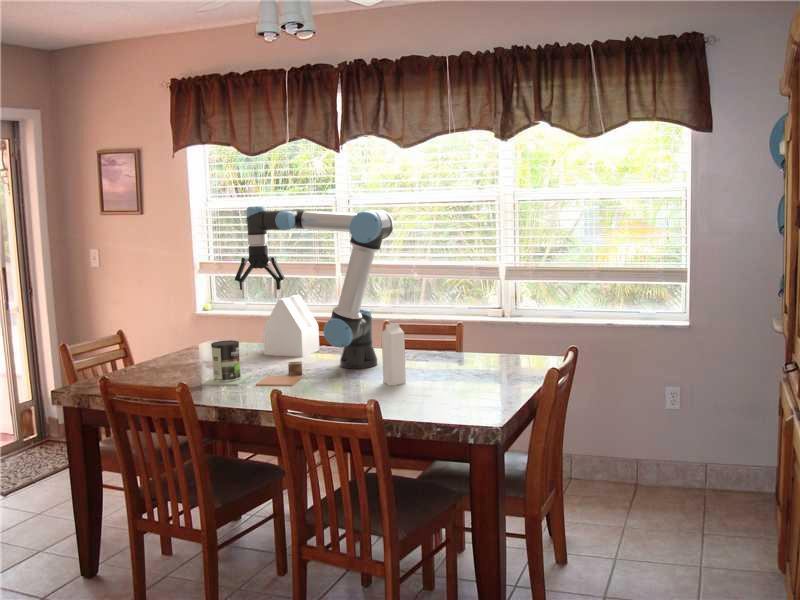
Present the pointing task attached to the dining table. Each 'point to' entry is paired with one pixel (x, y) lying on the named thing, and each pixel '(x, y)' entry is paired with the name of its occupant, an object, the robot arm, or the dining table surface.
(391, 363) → the milk
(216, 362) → the coffee can
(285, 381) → the pad terracotta
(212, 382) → the pad green
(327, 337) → the robot arm
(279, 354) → the white house block
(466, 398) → the dining table surface
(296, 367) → the walnut block
